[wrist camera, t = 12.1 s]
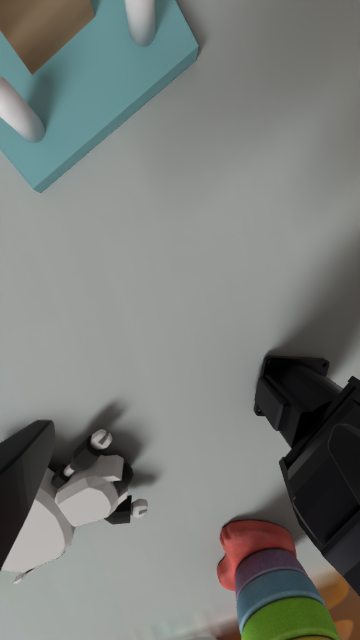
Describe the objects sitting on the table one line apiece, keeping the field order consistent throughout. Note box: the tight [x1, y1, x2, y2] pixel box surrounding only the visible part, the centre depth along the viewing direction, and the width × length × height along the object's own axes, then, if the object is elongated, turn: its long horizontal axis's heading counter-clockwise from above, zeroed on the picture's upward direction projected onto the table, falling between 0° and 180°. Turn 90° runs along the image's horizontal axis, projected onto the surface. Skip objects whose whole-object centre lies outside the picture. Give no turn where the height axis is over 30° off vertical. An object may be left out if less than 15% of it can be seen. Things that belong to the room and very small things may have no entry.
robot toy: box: [2, 429, 148, 583], centre depth 21 cm, size 12×4×15 cm
